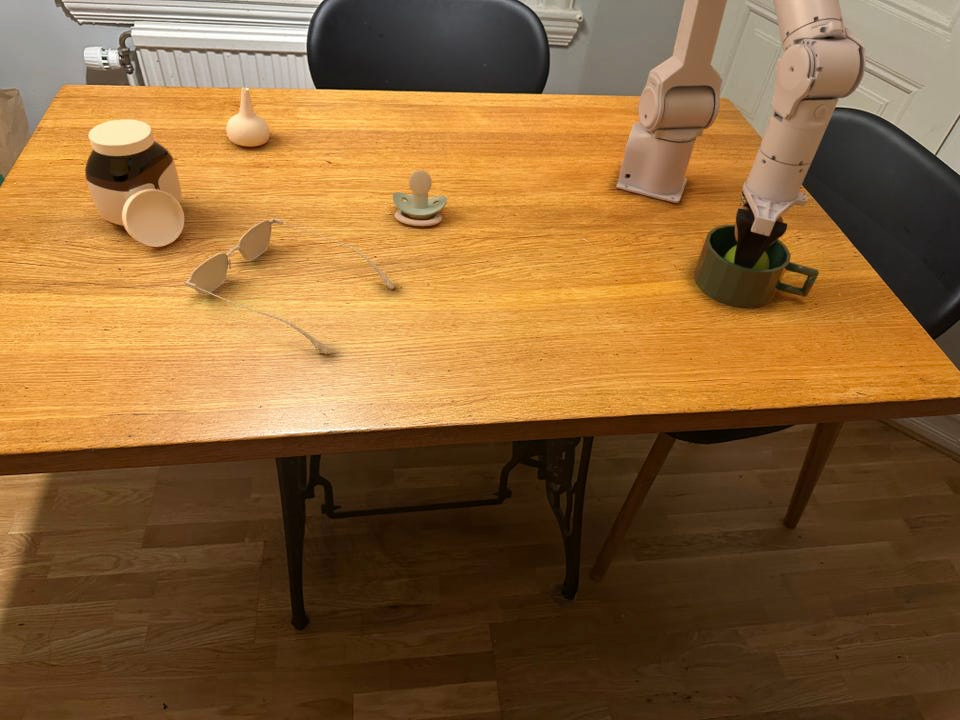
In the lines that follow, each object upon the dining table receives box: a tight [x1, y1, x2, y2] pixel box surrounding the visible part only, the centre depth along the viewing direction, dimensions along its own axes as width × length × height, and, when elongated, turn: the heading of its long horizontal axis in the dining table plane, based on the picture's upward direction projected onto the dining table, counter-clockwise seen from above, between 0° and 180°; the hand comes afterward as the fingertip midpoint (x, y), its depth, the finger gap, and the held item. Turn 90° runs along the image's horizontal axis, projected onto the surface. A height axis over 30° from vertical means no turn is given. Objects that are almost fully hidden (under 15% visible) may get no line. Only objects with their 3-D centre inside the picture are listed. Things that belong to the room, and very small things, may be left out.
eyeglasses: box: [184, 217, 395, 355], centre depth 79 cm, size 15×18×4 cm
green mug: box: [693, 224, 820, 309], centre depth 86 cm, size 14×10×6 cm
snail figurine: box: [724, 196, 784, 270], centre depth 84 cm, size 5×6×12 cm
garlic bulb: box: [225, 87, 271, 148], centre depth 104 cm, size 6×6×8 cm
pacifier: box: [392, 169, 448, 227], centre depth 93 cm, size 7×6×6 cm
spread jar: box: [84, 119, 185, 248], centre depth 85 cm, size 12×11×12 cm
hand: (744, 255), depth 86 cm, fingers closed on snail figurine, 4 cm apart
